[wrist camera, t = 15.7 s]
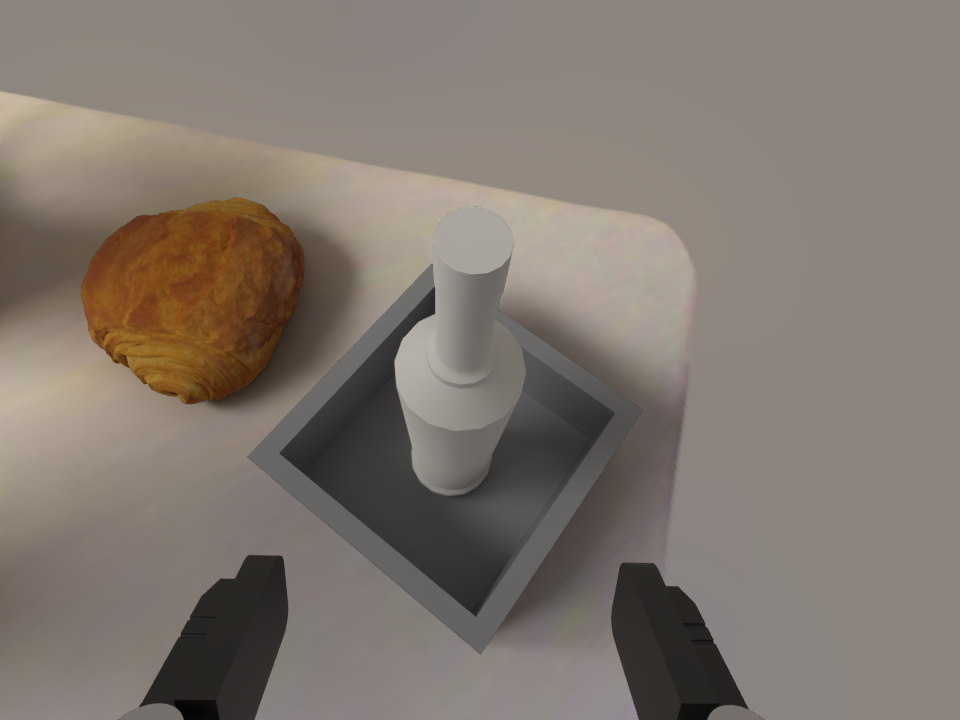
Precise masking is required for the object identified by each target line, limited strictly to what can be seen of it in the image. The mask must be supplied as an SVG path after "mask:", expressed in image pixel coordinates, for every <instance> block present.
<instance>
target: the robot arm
mask: <svg viewBox="0 0 960 720" xmlns="http://www.w3.org/2000/svg"><path fill="white" fill-rule="evenodd" d="M287 618H288V598H287V588H286V578H285V568H284V560H283V557H282V556H265V555H249V556H247V557H246V558H245V560H244V562H243V564H242V566H241V568H240V570H239V572H238V574H237V576H236V578H235V579H220V580H219V581H218V582H217V583H215V584H214V585H213V586H212V587H211V588H210V589H209V590H208V591H207V592H206V593H204V594H203V595H202V596H201V598H200V600H199V602H198V603H197V605H196V607H195V609H194V611H193V612H192V614H191V616H190V620H189V621H187V623H186V625H185V627H184V629H183V630H182V632H181V636H180V638H178V639H177V641H176V643H175V645H174V646H173V648H172V650H171V652H170V654H169V655H168V657H167V659H166V661H165V662H164V664H163V666H162V668H161V670H160V671H159V673H158V675H157V677H156V679H155V680H154V682H153V684H152V686H151V688H150V689H149V691H148V693H147V695H146V696H145V698H144V700H143V702H142V703H141V705H140V706H139V708H137V709H135V710H132V711H131V712H129V713H127V714H125V715H124V716H122V717H121V718H120V719H118V720H254V719H255V716H256V713H257V710H258V707H259V705H260V702H261V699H262V696H263V693H264V690H265V688H266V685H267V682H268V679H269V676H270V673H271V670H272V668H273V665H274V662H275V659H276V656H277V653H278V650H279V648H280V645H281V642H282V639H283V636H284V633H285V629H286V624H287ZM611 622H612V631H613V637H614V640H615V644H616V647H617V650H618V653H619V657H620V660H621V663H622V666H623V670H624V673H625V676H626V679H627V683H628V686H629V689H630V692H631V695H632V699H633V702H634V705H635V708H636V712H637V715H638V718H639V720H765V719H763V718H762V717H761V716H759V715H757V714H756V713H754V712H753V711H751V710H749V708H748V707H747V705H746V703H745V701H744V699H743V697H742V696H741V693H740V691H739V690H738V688H737V685H736V683H735V682H734V679H733V677H732V675H731V674H730V672H729V670H728V668H727V666H726V664H725V662H724V660H723V658H722V656H721V654H720V652H719V650H718V648H717V646H716V644H714V642H713V638H712V636H711V634H710V632H709V630H708V628H707V627H705V622H704V620H703V618H702V616H701V614H700V612H699V610H698V608H697V606H696V605H695V603H694V602H693V601H692V600H691V599H690V598H689V597H688V596H687V595H686V594H685V593H684V592H683V591H682V590H681V589H680V588H679V587H678V586H677V587H676V586H666V585H665V583H664V581H663V579H662V577H661V575H660V572H659V570H658V568H657V566H656V565H655V564H654V563H622V564H621V566H620V569H619V574H618V580H617V585H616V590H615V596H614V601H613V606H612V614H611Z"/></svg>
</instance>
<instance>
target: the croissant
mask: <svg viewBox="0 0 960 720" xmlns="http://www.w3.org/2000/svg"><path fill="white" fill-rule="evenodd" d="M303 278H304V254H303V249H302V247H301V245H300V244H299V242H298V241H297V240H296V238H295V237H294V236H293V233H292V232H291V231H290V228H289V227H288V226H287V225H285V224H283V223H281V222H280V221H279V219H278V218H277V217H276V215H274V214H272V213H270V212H269V210H268V209H267V208H266V207H265V206H263V205H261V204H258V203H255V202H252V201H248V200H245V199H242V198H233V199H231V200H227V201H210V202H206V203H201V204H197V205H194V206H192V207H190V208H187V209H186V210H178V211H169V212H167V213H160V214H159V215H152V216H150V215H141V216H137V217H136V218H134V219H133V220H132V221H130V222H129V223H127V224H126V225H124V226H123V227H121V228H119V229H118V230H117V231H116V232H115V233H114V234H113V235H111V236H110V237H109V238H108V239H107V240H106V241H105V242H104V243H103V245H102V246H101V247H100V249H99V250H98V251H97V253H96V254H95V255H94V257H93V258H92V260H91V261H90V265H89V268H88V272H87V274H86V276H85V278H84V280H83V284H82V287H81V296H82V300H83V304H84V310H85V316H86V318H87V321H88V331H89V333H90V335H91V337H92V339H93V341H94V342H95V343H96V344H97V345H98V346H99V347H101V348H103V349H105V351H106V353H107V354H108V355H110V357H111V358H112V360H113V361H114V362H115V363H117V364H119V363H121V364H123V365H124V366H126V367H128V368H130V369H131V370H132V372H133V373H134V374H135V375H136V376H137V377H138V378H139V379H140V380H141V381H142V382H143V384H148V385H149V387H150V388H151V389H152V390H154V391H156V392H158V393H161V394H164V395H168V396H179V398H180V400H181V401H182V402H183V403H185V404H195V403H199V402H202V401H205V400H212V399H215V400H220V399H222V398H224V397H226V396H227V395H230V394H233V393H235V392H236V391H237V390H239V389H241V388H243V387H246V386H247V385H248V384H249V383H251V382H252V381H253V380H254V379H255V378H256V377H257V376H258V375H259V373H260V371H261V370H262V369H264V368H265V367H266V366H267V365H268V363H269V361H270V359H271V356H272V354H273V351H274V348H275V346H276V344H277V343H278V341H279V339H280V337H281V335H282V331H283V328H284V325H285V324H286V323H287V322H288V320H289V318H290V317H291V315H292V313H293V312H294V309H295V307H296V299H297V293H298V291H299V289H300V288H301V281H302V280H303Z"/></svg>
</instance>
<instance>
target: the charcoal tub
mask: <svg viewBox="0 0 960 720" xmlns="http://www.w3.org/2000/svg"><path fill="white" fill-rule="evenodd" d="M434 314H435V285H434V277H433V264H431V265H430V266H429V267H428V268H427V269H426V270H425V271H424V272H423V273H422V274H421V275H420V276H419V278H418V279H417V280H416V281H415V282H414V283H413V284H412V285H411V286H410V287H409V288H408V289H407V290H406V291H405V292H404V293H403V294H402V295H401V296H400V297H399V298H398V300H397V301H396V302H395V303H394V304H393V305H392V306H391V307H390V308H389V309H388V310H387V311H386V312H385V313H384V314H383V315H382V316H381V317H380V318H379V319H378V320H377V321H376V323H375V324H374V325H373V326H372V327H371V328H370V329H369V330H368V331H367V332H366V333H365V334H364V335H363V336H362V337H361V338H360V339H359V340H358V341H357V342H356V343H355V345H354V346H353V347H352V348H351V349H350V350H349V351H348V352H347V353H346V354H345V355H344V356H343V357H342V358H341V359H340V360H339V361H338V362H337V363H336V364H335V365H334V366H333V368H332V369H331V370H330V371H329V372H328V373H327V374H326V375H325V376H324V377H323V378H322V379H321V380H320V381H319V382H318V383H317V384H316V385H315V386H314V387H313V388H312V390H311V391H310V392H309V393H308V394H307V395H306V396H305V397H304V398H303V399H302V400H301V401H300V402H299V403H298V404H297V405H296V406H295V407H294V408H293V409H292V410H291V412H290V413H289V414H288V415H287V416H286V417H285V418H284V419H283V420H282V421H281V422H280V423H279V424H278V425H277V426H276V427H275V428H274V429H273V430H272V431H271V432H270V433H269V435H268V436H267V437H266V438H265V439H264V440H263V441H262V442H261V443H260V444H259V445H258V446H257V447H256V448H255V449H254V450H253V451H252V452H251V453H250V454H249V455H248V457H247V458H249V459H250V460H251V461H252V462H253V463H255V464H256V465H257V466H258V467H259V468H260V469H262V470H263V471H264V472H265V473H266V474H268V475H269V476H270V477H271V478H272V479H273V480H275V481H276V482H277V483H278V484H279V485H281V486H282V487H283V488H284V489H285V490H286V491H288V492H289V493H290V494H291V495H292V496H294V497H295V498H296V499H297V500H298V501H299V502H301V503H302V504H303V505H304V506H305V507H307V508H308V509H309V510H310V511H311V512H313V513H314V514H315V515H316V516H317V517H318V518H320V519H321V520H322V521H323V522H324V523H326V524H327V525H328V526H329V527H330V528H331V529H333V530H334V531H335V532H336V533H337V534H339V535H340V536H341V537H342V538H343V539H344V540H346V541H347V542H348V543H349V544H350V545H352V546H353V547H354V548H355V549H356V550H357V551H359V552H360V553H361V554H362V555H363V556H365V557H366V558H367V559H368V560H369V561H370V562H372V563H373V564H374V565H375V566H376V567H378V568H379V569H380V570H381V571H382V572H383V573H385V574H386V575H387V576H388V577H389V578H391V579H392V580H393V581H394V582H395V583H396V584H398V585H399V586H400V587H401V588H402V589H404V590H405V591H406V592H407V593H408V594H409V595H411V596H412V597H413V598H414V599H415V600H417V601H418V602H419V603H420V604H421V605H422V606H424V607H425V608H426V609H427V610H428V611H430V612H431V613H432V614H433V615H434V616H435V617H437V618H438V619H439V620H440V621H441V622H443V623H444V624H445V625H446V626H447V627H449V628H450V629H451V630H452V631H453V632H454V633H456V634H457V635H458V636H459V637H460V638H462V639H463V640H464V641H465V642H466V643H467V644H469V645H470V646H471V647H472V648H473V649H475V650H476V651H477V652H478V653H479V654H480V655H481V653H482V652H483V650H484V649H485V647H486V646H487V644H488V643H489V641H490V640H491V638H492V637H493V635H494V634H495V632H496V631H497V629H498V628H499V626H500V625H501V623H502V622H503V620H504V619H505V617H506V616H507V614H508V613H509V611H510V610H511V608H512V607H513V605H514V604H515V602H516V601H517V599H518V598H519V596H520V595H521V593H522V592H523V590H524V589H525V587H526V586H527V584H528V583H529V581H530V580H531V578H532V577H533V575H534V574H535V572H536V571H537V569H538V568H539V566H540V564H541V563H542V561H543V560H544V558H545V557H546V555H547V554H548V552H549V551H550V549H551V548H552V546H553V545H554V543H555V542H556V540H557V539H558V537H559V536H560V534H561V533H562V531H563V530H564V528H565V527H566V525H567V524H568V522H569V521H570V519H571V518H572V516H573V515H574V513H575V512H576V510H577V509H578V507H579V506H580V504H581V503H582V501H583V500H584V498H585V497H586V495H587V494H588V492H589V491H590V489H591V488H592V486H593V485H594V483H595V482H596V480H597V479H598V477H599V475H600V474H601V472H602V471H603V469H604V468H605V466H606V465H607V463H608V462H609V460H610V459H611V457H612V456H613V454H614V453H615V451H616V450H617V448H618V447H619V445H620V444H621V442H622V441H623V439H624V438H625V436H626V435H627V433H628V432H629V430H630V429H631V427H632V426H633V424H634V423H635V421H636V420H637V418H638V417H639V415H640V414H641V412H642V411H643V409H641V408H640V407H638V406H637V405H635V404H634V403H633V402H631V401H630V400H628V399H627V398H625V397H624V396H622V395H621V394H620V393H618V392H617V391H615V390H614V389H612V388H611V387H609V386H608V385H607V384H605V383H604V382H602V381H601V380H599V379H598V378H596V377H595V376H594V375H592V374H591V373H589V372H588V371H586V370H585V369H583V368H582V367H581V366H579V365H578V364H576V363H575V362H573V361H572V360H570V359H569V358H568V357H566V356H565V355H563V354H562V353H560V352H559V351H557V350H556V349H555V348H553V347H552V346H550V345H549V344H547V343H546V342H544V341H543V340H542V339H540V338H539V337H537V336H536V335H534V334H533V333H531V332H530V331H529V330H527V329H526V328H524V327H523V326H521V325H520V324H518V323H517V322H516V321H514V320H513V319H511V318H510V317H508V316H507V315H505V314H504V313H503V312H501V311H500V310H498V312H497V317H496V321H498V322H499V323H500V324H502V325H503V326H505V327H506V328H507V329H509V330H510V332H511V333H512V335H513V336H514V338H515V340H516V341H517V343H518V344H519V346H520V347H521V349H522V352H523V358H524V364H525V369H526V376H525V380H524V384H523V387H522V391H521V395H520V398H519V400H518V402H517V404H516V406H515V408H514V410H513V412H512V414H511V416H510V418H509V421H508V423H507V425H506V427H505V429H504V431H503V433H502V435H501V437H500V439H499V441H498V443H497V445H496V447H495V449H494V451H493V453H492V460H491V464H490V468H489V472H488V474H487V476H486V477H485V478H484V480H483V481H482V482H481V483H480V485H479V486H478V487H477V488H476V489H474V490H472V491H471V492H469V493H467V494H465V495H464V496H456V497H445V496H441V495H438V494H434V493H432V492H431V491H430V490H429V489H427V488H426V487H425V486H424V485H422V484H421V483H420V481H419V479H418V477H417V475H416V473H415V471H414V470H413V466H412V455H411V450H412V444H411V440H410V437H409V433H408V429H407V425H406V421H405V417H404V413H403V409H402V406H401V402H400V398H399V394H398V390H397V386H396V375H395V362H394V361H395V359H396V356H397V353H398V350H399V348H400V345H401V342H402V339H403V338H404V337H405V336H406V335H407V334H408V333H409V332H410V331H411V329H412V328H413V327H414V326H415V325H416V324H417V323H418V322H419V321H421V320H423V319H425V318H428V317H430V316H432V315H434Z"/></svg>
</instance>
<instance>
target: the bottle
mask: <svg viewBox="0 0 960 720" xmlns="http://www.w3.org/2000/svg"><path fill="white" fill-rule="evenodd" d="M513 246H514V240H513V235H512V230H511V229H510V227H509V226H508V224H507V223H506V221H505V220H504V219H503V218H502V217H500V216H499V215H497V214H496V213H494V212H493V211H491V210H488V209H484V208H480V207H461V208H459V209H456V210H454V211H451V212H449V213H447V214H446V215H445V216H444V217H443V218H442V219H441V220H440V221H439V222H438V223H437V225H436V228H435V231H434V234H433V277H434V285H435V314H434V315H432V316H430V317H428V318H425V319H423V320H421V321H419V322H418V323H417V324H416V325H415V326H414V327H413V328H412V329H411V331H410V332H409V333H408V334H407V335H406V336H405V337H404V338H403V339H402V342H401V345H400V348H399V350H398V353H397V356H396V359H395V361H394V362H395V375H396V386H397V390H398V394H399V398H400V402H401V406H402V409H403V413H404V417H405V421H406V425H407V429H408V433H409V437H410V440H411V444H412V450H411V455H412V466H413V470H414V471H415V473H416V475H417V477H418V479H419V481H420V483H421V484H422V485H424V486H425V487H426V488H427V489H429V490H430V491H431V492H432V493H434V494H438V495H441V496H445V497H456V496H464V495H465V494H467V493H469V492H471V491H472V490H474V489H476V488H477V487H478V486H479V485H480V483H481V482H482V481H483V480H484V478H485V477H486V476H487V474H488V472H489V468H490V464H491V460H492V453H493V451H494V449H495V447H496V445H497V443H498V441H499V439H500V437H501V435H502V433H503V431H504V429H505V427H506V425H507V423H508V421H509V418H510V416H511V414H512V412H513V410H514V408H515V406H516V404H517V402H518V400H519V398H520V395H521V391H522V387H523V384H524V380H525V376H526V369H525V364H524V358H523V352H522V349H521V347H520V346H519V344H518V343H517V341H516V340H515V338H514V336H513V335H512V333H511V332H510V330H509V329H507V328H506V327H505V326H503V325H502V324H500V323H499V322H498V321H496V317H497V312H498V307H499V302H500V297H501V295H502V293H503V290H504V286H505V283H506V278H507V274H508V269H509V264H510V260H511V255H512V251H513Z"/></svg>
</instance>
